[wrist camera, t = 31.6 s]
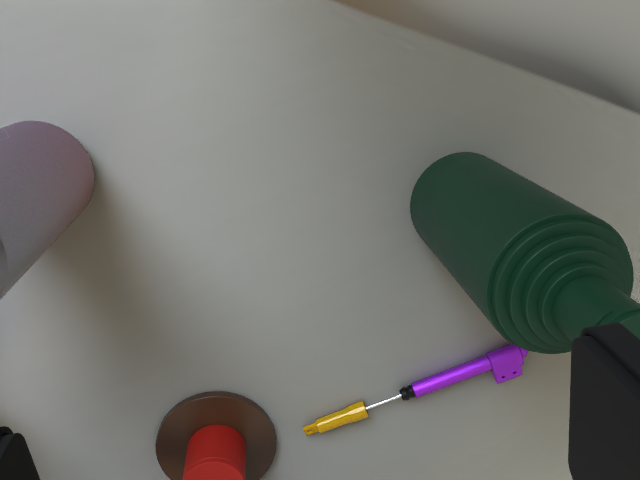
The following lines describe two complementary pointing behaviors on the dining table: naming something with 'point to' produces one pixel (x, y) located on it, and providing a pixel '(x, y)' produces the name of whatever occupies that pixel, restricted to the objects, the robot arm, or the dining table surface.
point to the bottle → (524, 253)
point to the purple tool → (433, 385)
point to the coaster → (216, 412)
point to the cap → (215, 455)
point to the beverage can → (38, 192)
